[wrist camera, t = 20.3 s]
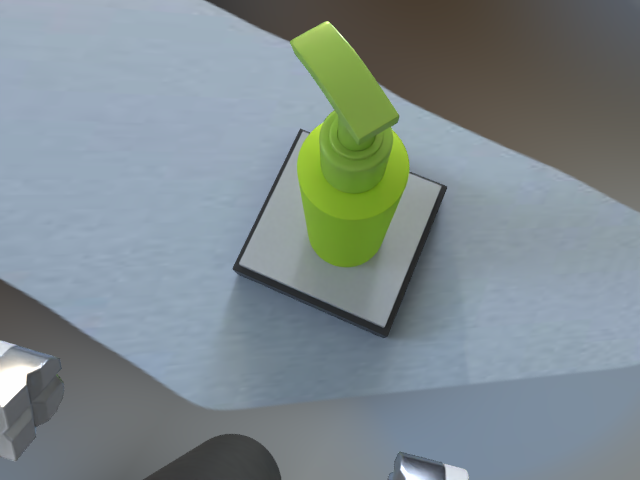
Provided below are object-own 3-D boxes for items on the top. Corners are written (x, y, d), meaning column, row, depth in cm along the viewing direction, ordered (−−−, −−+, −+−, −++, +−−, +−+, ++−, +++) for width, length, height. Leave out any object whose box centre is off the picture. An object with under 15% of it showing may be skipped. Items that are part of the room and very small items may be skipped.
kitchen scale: (384, 338, 40) (388, 336, 37) (237, 273, 41) (229, 267, 39) (441, 195, 43) (450, 182, 40) (301, 139, 44) (299, 123, 41)
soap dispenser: (350, 170, 40) (368, -11, 21) (398, 241, 39) (466, 119, 19) (287, 207, 40) (244, 56, 20) (333, 282, 38) (336, 196, 19)
